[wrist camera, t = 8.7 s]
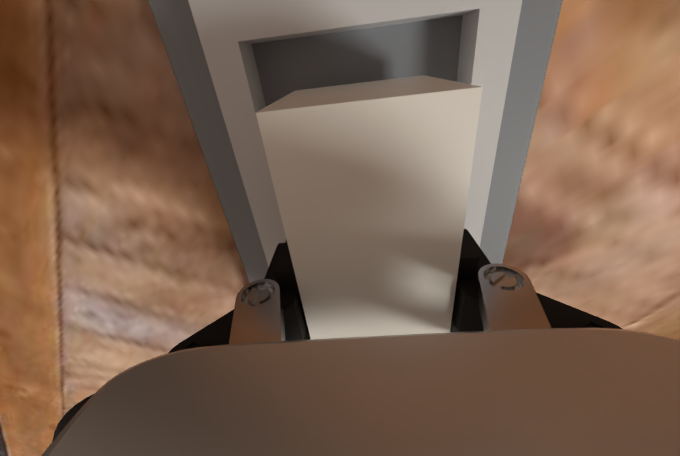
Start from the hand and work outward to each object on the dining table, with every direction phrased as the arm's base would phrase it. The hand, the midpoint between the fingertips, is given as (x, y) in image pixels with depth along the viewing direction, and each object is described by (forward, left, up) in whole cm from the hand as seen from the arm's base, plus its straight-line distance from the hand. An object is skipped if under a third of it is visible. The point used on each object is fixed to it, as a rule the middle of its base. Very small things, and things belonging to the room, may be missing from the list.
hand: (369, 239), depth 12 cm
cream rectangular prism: (0, 0, -1) cm, 1 cm away
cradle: (0, 0, -3) cm, 3 cm away
